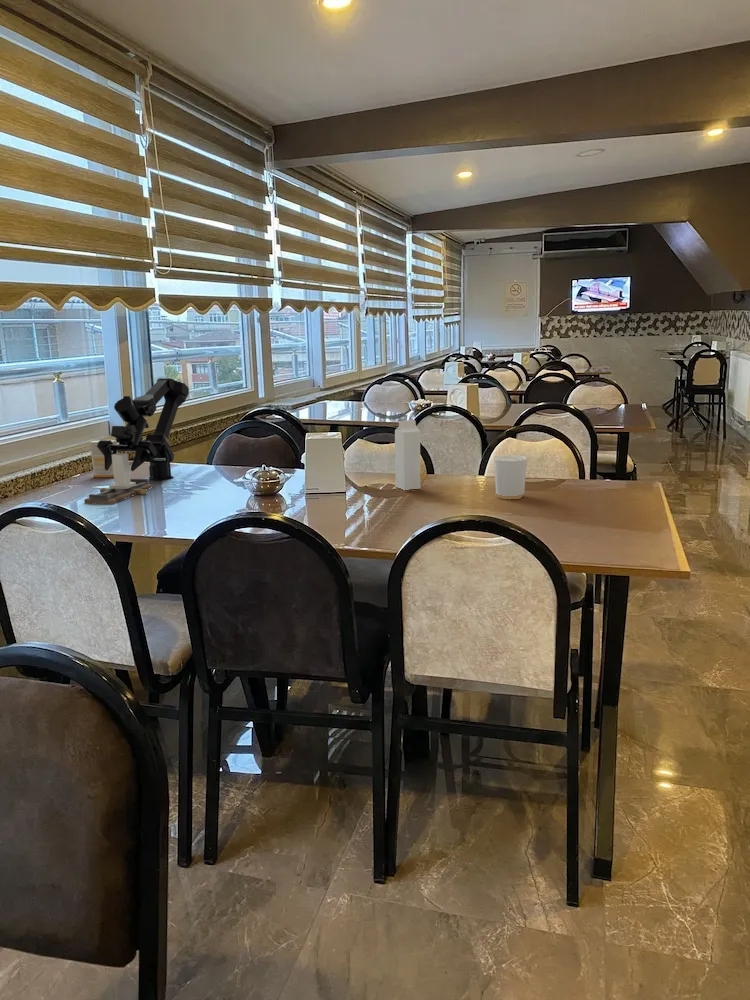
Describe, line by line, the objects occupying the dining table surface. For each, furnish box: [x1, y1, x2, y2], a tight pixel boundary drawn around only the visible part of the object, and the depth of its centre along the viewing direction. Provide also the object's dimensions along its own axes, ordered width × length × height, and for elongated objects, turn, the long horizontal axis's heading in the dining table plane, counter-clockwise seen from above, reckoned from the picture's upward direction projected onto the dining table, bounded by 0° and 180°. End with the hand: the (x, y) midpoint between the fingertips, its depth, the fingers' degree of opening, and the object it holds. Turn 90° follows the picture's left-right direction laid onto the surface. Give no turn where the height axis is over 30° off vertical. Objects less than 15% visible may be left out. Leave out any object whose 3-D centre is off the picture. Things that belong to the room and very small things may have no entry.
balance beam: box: [84, 478, 154, 505], centre depth 244 cm, size 25×16×3 cm, turn 167°
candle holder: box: [493, 454, 528, 496], centre depth 229 cm, size 10×10×12 cm
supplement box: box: [89, 439, 119, 478], centre depth 275 cm, size 8×5×13 cm, turn 84°
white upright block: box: [108, 452, 136, 492], centre depth 245 cm, size 6×6×12 cm
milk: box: [394, 419, 421, 490], centre depth 242 cm, size 6×6×22 cm
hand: (118, 470), depth 243 cm, fingers open, 9 cm apart
